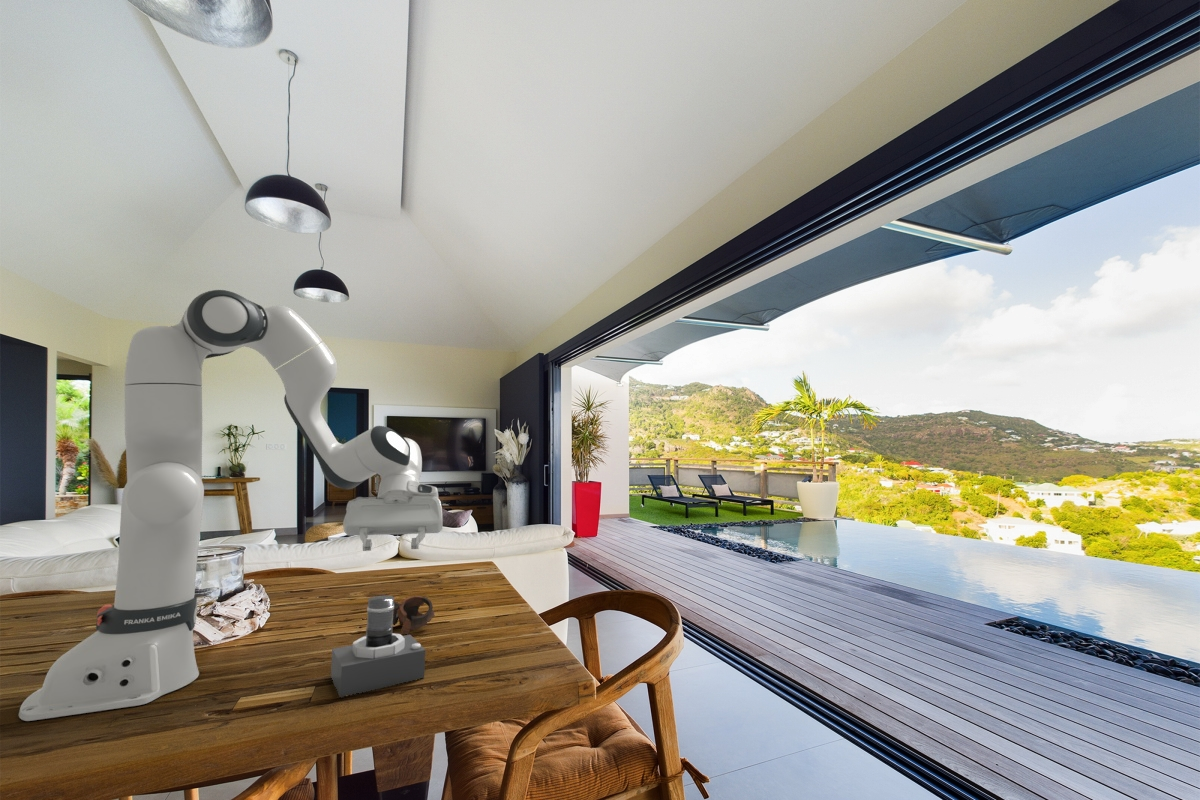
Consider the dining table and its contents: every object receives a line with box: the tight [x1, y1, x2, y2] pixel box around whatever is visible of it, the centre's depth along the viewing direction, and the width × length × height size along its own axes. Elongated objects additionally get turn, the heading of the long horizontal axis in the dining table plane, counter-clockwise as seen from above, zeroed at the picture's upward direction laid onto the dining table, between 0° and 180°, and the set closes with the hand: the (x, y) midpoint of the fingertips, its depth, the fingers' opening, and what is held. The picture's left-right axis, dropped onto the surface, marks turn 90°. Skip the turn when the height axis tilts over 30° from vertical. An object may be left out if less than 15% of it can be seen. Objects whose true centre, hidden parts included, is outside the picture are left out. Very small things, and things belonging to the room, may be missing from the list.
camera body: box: [330, 632, 426, 698], centre depth 98 cm, size 14×10×6 cm
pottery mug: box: [393, 595, 436, 635], centre depth 125 cm, size 12×10×8 cm
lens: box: [365, 594, 395, 647], centre depth 98 cm, size 5×5×9 cm
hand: (390, 548), depth 111 cm, fingers open, 8 cm apart
